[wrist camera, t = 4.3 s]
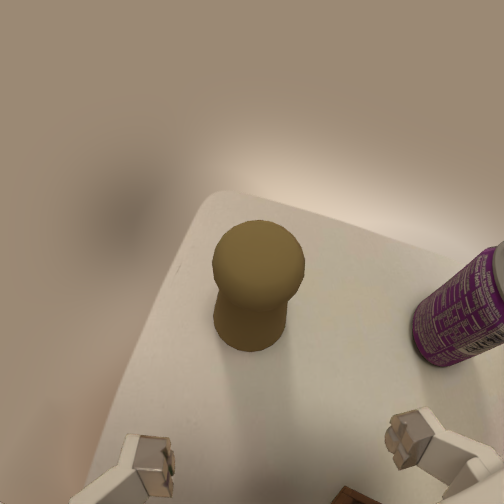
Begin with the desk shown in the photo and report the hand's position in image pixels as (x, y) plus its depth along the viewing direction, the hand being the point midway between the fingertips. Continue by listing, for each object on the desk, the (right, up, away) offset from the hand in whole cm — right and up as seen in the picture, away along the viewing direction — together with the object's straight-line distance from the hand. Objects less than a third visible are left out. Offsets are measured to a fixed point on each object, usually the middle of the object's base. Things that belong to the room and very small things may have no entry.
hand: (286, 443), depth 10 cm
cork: (-1, +1, +17) cm, 17 cm away
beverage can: (+17, -1, +16) cm, 23 cm away
